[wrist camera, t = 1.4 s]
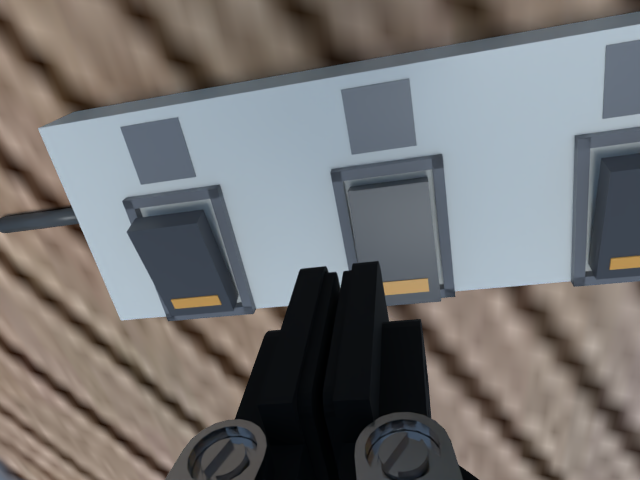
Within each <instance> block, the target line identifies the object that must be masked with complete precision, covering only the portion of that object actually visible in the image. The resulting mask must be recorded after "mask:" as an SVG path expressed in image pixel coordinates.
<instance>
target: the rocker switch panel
mask: <svg viewBox="0 0 640 480" xmlns="http://www.w3.org/2000/svg"><path fill="white" fill-rule="evenodd" d="M38 130H39V132H40V134H41V137H42V139H43V141H44V143H45V146H46V148H47V150H48V153H49V155H50V157H51V160H52V162H53V164H54V167H55V169H56V171H57V174H58V176H59V178H60V180H61V183H62V185H63V187H64V190H65V192H66V194H67V197H68V199H69V201H70V204H71V206H72V208H66V209H59V210H52V211H44V212H37V213H30V214H22V215H15V216H8V217H2V218H0V232H2V233H11V232H19V231H26V230H34V229H42V228H50V227H57V226H65V225H73V224H80V227H81V229H82V231H83V234H84V236H85V238H86V241H87V243H88V245H89V248H90V250H91V252H92V254H93V257H94V259H95V261H96V264H97V266H98V268H99V271H100V273H101V275H102V278H103V280H104V282H105V285H106V287H107V289H108V291H109V294H110V296H111V298H112V301H113V303H114V305H115V308H116V310H117V312H118V315H119V317H120V319H121V320H130V319H141V318H153V317H164V316H166V317H167V320H168V321H174V320H186V319H198V318H210V317H221V316H233V315H245V314H254V312H255V310H256V308H268V307H279V306H288V305H289V302H290V299H291V295H292V292H293V289H294V286H295V283H296V280H297V276H298V273H299V271H300V269H303V268H312V267H322V266H326V267H327V269H328V272H336V273H337V275H338V279H339V283H340V287H341V282H342V276H343V271H349V270H352V264H353V263H358V259H357V252H356V245H355V239H354V232H353V225H352V219H351V212H350V206H349V199H348V190H349V188H350V187H352V186H359V185H367V184H375V183H382V182H390V181H398V180H406V179H413V178H421V177H428V182H429V191H430V201H431V210H432V219H433V229H434V238H435V248H436V257H437V266H438V276H439V285H440V295H441V298H445V297H455V291H463V290H475V289H487V288H498V287H510V286H521V285H533V284H544V283H556V282H567V281H571V282H572V284H573V286H574V287H575V286H587V285H599V284H610V283H622V282H634V281H640V276H632V277H621V278H609V279H598V280H596V278H595V276H594V274H593V272H592V270H591V268H590V266H589V264H588V262H589V254H590V246H591V238H592V230H593V221H594V213H595V205H596V197H597V188H598V180H599V172H600V164H601V158H606V157H614V156H622V155H630V154H637V153H640V11H639V12H633V13H627V14H622V15H616V16H610V17H605V18H599V19H594V20H588V21H582V22H577V23H571V24H565V25H560V26H554V27H549V28H543V29H537V30H532V31H526V32H520V33H515V34H509V35H504V36H498V37H492V38H487V39H481V40H475V41H470V42H464V43H459V44H453V45H447V46H442V47H436V48H430V49H425V50H419V51H414V52H408V53H402V54H397V55H391V56H385V57H380V58H374V59H369V60H363V61H357V62H352V63H346V64H340V65H335V66H329V67H323V68H318V69H312V70H307V71H301V72H295V73H290V74H284V75H278V76H273V77H267V78H262V79H256V80H250V81H245V82H239V83H233V84H228V85H222V86H217V87H211V88H205V89H200V90H194V91H188V92H183V93H177V94H172V95H166V96H160V97H155V98H149V99H143V100H138V101H132V102H127V103H121V104H115V105H110V106H104V107H98V108H93V109H87V110H82V111H76V112H73V113H71V114H68V115H66V116H64V117H62V118H60V119H57V120H55V121H53V122H51V123H49V124H47V125H44V126H42V127H40V128H38ZM195 210H204V212H205V215H206V217H207V220H208V222H209V225H210V227H211V230H212V232H213V235H214V237H215V239H216V242H217V244H218V247H219V249H220V252H221V254H222V257H223V259H224V261H225V264H226V266H227V269H228V271H229V274H230V276H231V279H232V281H233V283H234V286H235V288H236V291H237V293H238V299H237V303H236V306H235V309H234V311H228V312H217V313H205V314H194V315H182V316H171V315H170V313H169V312H168V310H167V308H166V306H165V304H164V302H163V300H162V298H161V296H160V295H159V293H158V291H157V289H156V287H155V285H154V283H153V281H152V279H151V277H150V276H149V274H148V272H147V270H146V268H145V266H144V264H143V262H142V260H141V259H140V257H139V255H138V253H137V251H136V249H135V247H134V245H133V243H132V242H131V240H130V238H129V236H128V234H127V230H128V229H129V227H130V226H131V224H132V223H133V221H134V220H135V218H141V217H149V216H156V215H164V214H172V213H180V212H187V211H195Z"/></svg>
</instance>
